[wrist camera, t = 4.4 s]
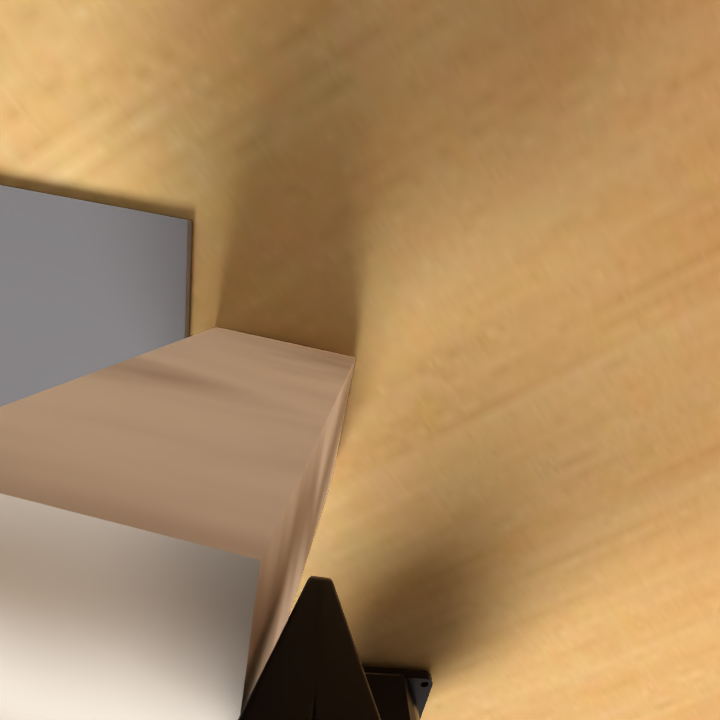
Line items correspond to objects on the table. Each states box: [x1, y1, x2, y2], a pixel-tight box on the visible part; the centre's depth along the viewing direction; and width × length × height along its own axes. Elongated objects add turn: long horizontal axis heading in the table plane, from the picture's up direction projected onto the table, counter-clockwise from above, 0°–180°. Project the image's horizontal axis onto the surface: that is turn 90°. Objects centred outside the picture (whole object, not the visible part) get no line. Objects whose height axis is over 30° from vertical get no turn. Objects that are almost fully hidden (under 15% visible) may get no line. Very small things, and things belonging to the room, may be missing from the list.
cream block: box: [0, 327, 356, 720], centre depth 11 cm, size 6×6×10 cm
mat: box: [0, 185, 192, 407], centre depth 14 cm, size 14×14×1 cm
